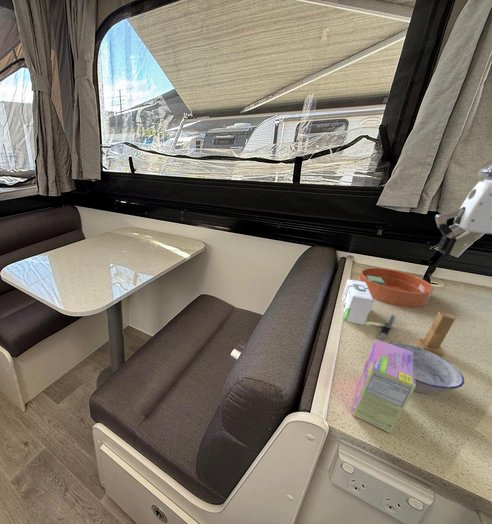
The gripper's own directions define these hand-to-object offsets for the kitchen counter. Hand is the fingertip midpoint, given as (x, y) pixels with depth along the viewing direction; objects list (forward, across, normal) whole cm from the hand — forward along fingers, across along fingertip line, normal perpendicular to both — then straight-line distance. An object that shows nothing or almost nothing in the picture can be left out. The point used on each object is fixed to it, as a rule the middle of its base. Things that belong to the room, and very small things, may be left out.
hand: (473, 256), depth 59 cm
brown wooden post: (+24, 0, -2) cm, 24 cm away
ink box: (+20, -15, +2) cm, 25 cm away
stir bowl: (+24, -1, +27) cm, 36 cm away
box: (+24, -17, -28) cm, 41 cm away
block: (+24, -6, +27) cm, 36 cm away
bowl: (+24, -8, -16) cm, 30 cm away
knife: (+24, -8, +4) cm, 26 cm away
